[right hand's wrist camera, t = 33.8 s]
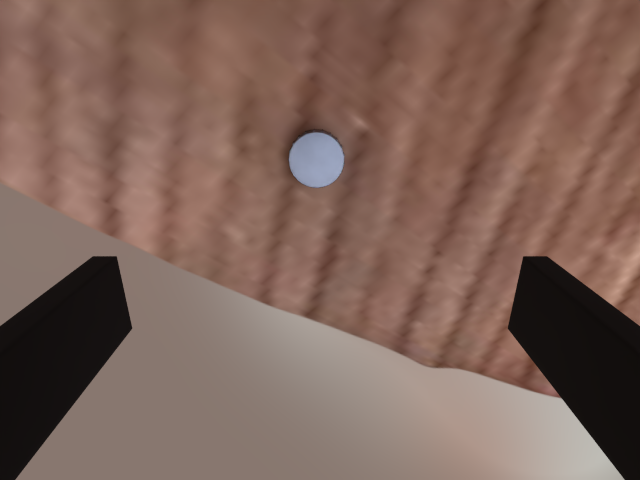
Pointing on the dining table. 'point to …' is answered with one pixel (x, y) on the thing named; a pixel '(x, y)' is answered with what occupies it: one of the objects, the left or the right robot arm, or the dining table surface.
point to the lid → (316, 158)
